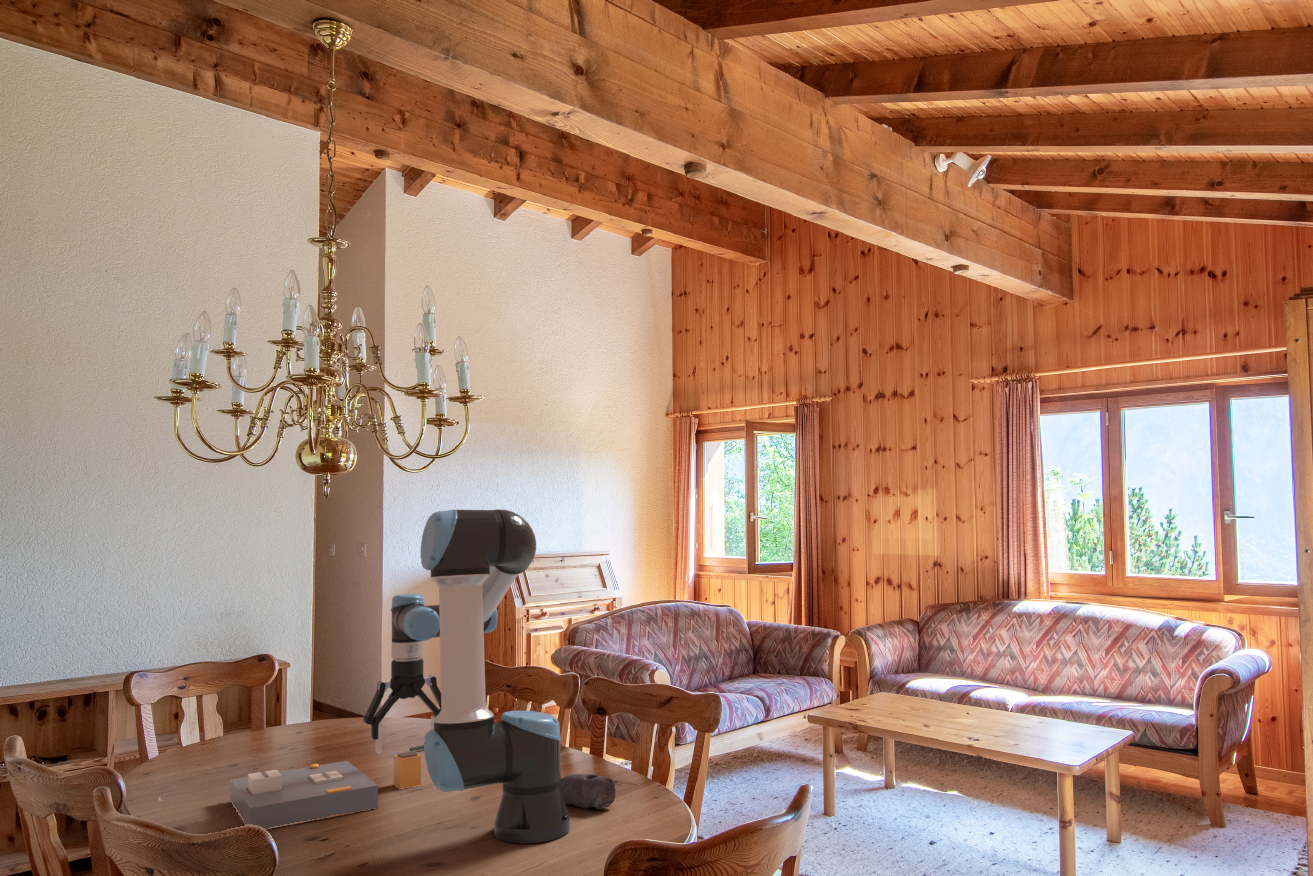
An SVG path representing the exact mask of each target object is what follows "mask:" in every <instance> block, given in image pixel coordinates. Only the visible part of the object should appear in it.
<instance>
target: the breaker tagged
mask: <svg viewBox="0 0 1313 876" xmlns="http://www.w3.org/2000/svg"><path fill="white" fill-rule="evenodd" d="M309 780H310V781H311V782H312V783H313V784H320V783H325V782H331V781H337V780H343V776H342V775H341V774H340V773H339V772H337V771H332V772H324V773H320V774H314V775H309Z"/></svg>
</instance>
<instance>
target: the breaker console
mask: <svg viewBox="0 0 1313 876" xmlns="http://www.w3.org/2000/svg"><path fill="white" fill-rule="evenodd" d="M332 771H337V772H339V773H340V774H341V775H342V776H343V780H337V781H331V782H325V783H320V784H313V783H312V782H311V781H310V780H309V775H314V774H320V773H324V772H332ZM279 772H280V774H281V775H282V790H279V791H273V792H267V793H261V794H255V795H251V794H250V793H249V792H248V776H245V777H238V778H233V779H230V784H229V785H230V786H229V787H230V791H229V793H230V794H229V796H230V798H229V800H230V799H231V801H232V802H233V804H234V805H235V807H236V808H237V810H238V811H239V813H240V814H241V816H242V818H243V819H244V822H246V823H245V824H253V825H258V826H261V827H263V828H265V829H267V830H266V831H269V829H268V828H270V827H274V826H280V825H284V824H290V823H294V822H300V821H307V820H312V819H317V818H322V817H327V816H330V815H336V814H342V813H350V812H357V811H363V810H368V809H373V808H378V809H379V785H378V784H377V783H376V782H374V781H373V780H372V779H371V778H369V777H368V776H367V775H366V774H365V773H363V772H362V771H361V770H359V769H358V768H357V767H356V766H354V765H353V764H352V763H351V762H350V761H348V760H343V761H338V762H337V761H335V762H332V763H326V764H319V763H313V764H310V765H309V766H307V767H301V768H293V769H288V770H282V771H279Z"/></svg>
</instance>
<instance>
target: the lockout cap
mask: <svg viewBox="0 0 1313 876" xmlns="http://www.w3.org/2000/svg"><path fill="white" fill-rule="evenodd" d="M395 785H396V786H397V787H399V788H400V789H401V788H407V787H412V786H417V785H421V786H422V755H421V754H419V753H417V751H410V750H409V751H403V752H398V753H397V754H393V786H395ZM396 786H395V787H396ZM397 787H396V788H397ZM399 788H398V789H399ZM412 788H413V787H412ZM400 789H399V790H400ZM407 789H408V788H407ZM401 790H402V789H401Z"/></svg>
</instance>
